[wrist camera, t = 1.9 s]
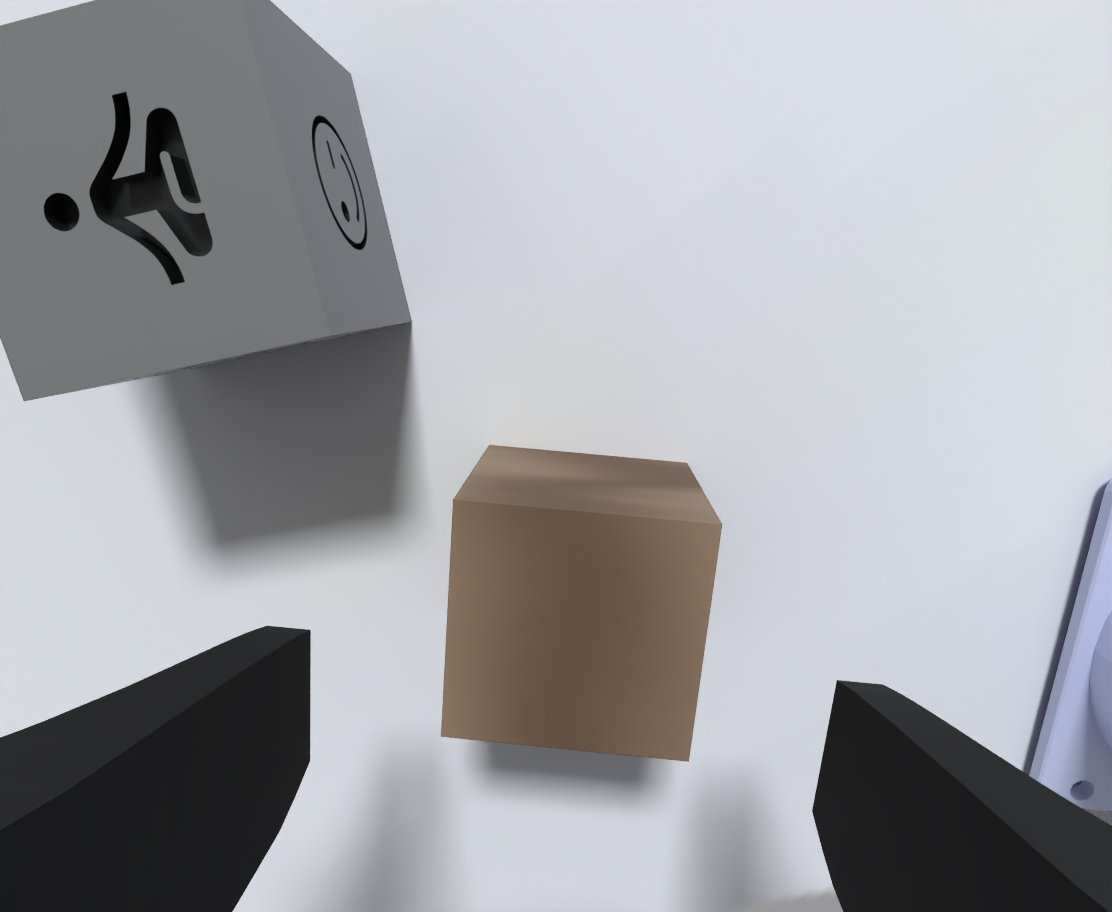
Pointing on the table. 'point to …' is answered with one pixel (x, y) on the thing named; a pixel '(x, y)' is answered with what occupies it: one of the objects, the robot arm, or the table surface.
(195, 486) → the table surface
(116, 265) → the dice cube
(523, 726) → the walnut block
